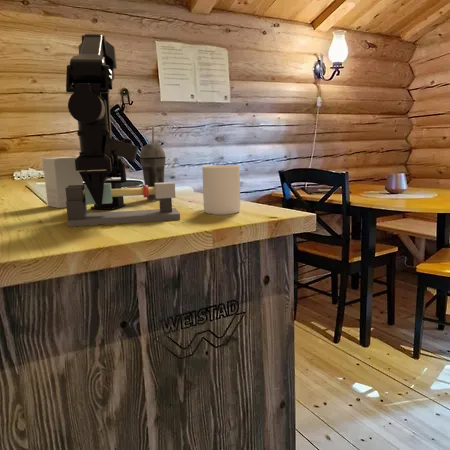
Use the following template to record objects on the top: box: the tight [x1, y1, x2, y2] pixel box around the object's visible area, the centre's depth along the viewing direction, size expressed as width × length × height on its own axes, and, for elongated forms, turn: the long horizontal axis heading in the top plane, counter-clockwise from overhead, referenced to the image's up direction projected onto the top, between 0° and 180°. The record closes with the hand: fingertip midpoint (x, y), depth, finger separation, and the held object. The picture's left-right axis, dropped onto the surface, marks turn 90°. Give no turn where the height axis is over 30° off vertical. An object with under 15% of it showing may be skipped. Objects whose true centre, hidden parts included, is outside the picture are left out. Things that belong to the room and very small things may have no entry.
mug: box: [201, 164, 241, 216], centre depth 96 cm, size 12×8×10 cm
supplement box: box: [42, 156, 84, 209], centre depth 110 cm, size 7×7×13 cm
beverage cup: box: [139, 126, 167, 201], centre depth 117 cm, size 7×7×20 cm
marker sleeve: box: [84, 183, 112, 206], centre depth 86 cm, size 5×4×4 cm
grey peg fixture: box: [65, 181, 181, 228], centre depth 88 cm, size 22×8×8 cm, turn 103°
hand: (99, 203), depth 87 cm, fingers closed on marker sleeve, 4 cm apart
